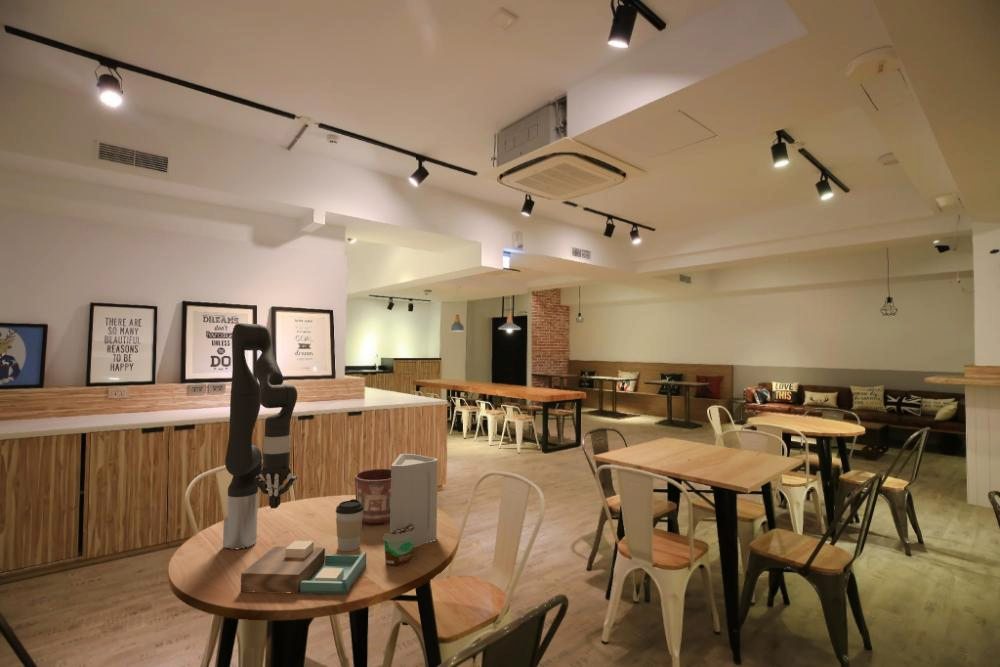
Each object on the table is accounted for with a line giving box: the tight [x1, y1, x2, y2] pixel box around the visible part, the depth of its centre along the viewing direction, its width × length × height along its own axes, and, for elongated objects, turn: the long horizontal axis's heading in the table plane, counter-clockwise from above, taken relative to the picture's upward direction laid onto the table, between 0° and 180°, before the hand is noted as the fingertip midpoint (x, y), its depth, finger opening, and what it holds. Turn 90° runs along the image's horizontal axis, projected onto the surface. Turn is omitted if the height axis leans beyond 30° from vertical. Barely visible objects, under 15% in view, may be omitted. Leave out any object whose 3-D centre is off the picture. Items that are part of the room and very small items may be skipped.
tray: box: [299, 551, 367, 596], centre depth 137 cm, size 12×18×4 cm
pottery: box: [354, 468, 391, 526], centre depth 186 cm, size 18×18×18 cm
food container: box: [382, 523, 416, 567], centre depth 149 cm, size 12×6×10 cm, turn 148°
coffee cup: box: [335, 498, 364, 552], centre depth 159 cm, size 9×9×15 cm
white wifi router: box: [389, 453, 439, 548], centre depth 167 cm, size 19×15×28 cm
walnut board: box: [240, 545, 326, 594], centre depth 138 cm, size 16×18×5 cm
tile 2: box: [315, 568, 344, 581], centre depth 133 cm, size 6×6×2 cm
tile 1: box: [285, 540, 315, 558], centre depth 142 cm, size 6×6×2 cm
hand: (274, 507), depth 143 cm, fingers closed
